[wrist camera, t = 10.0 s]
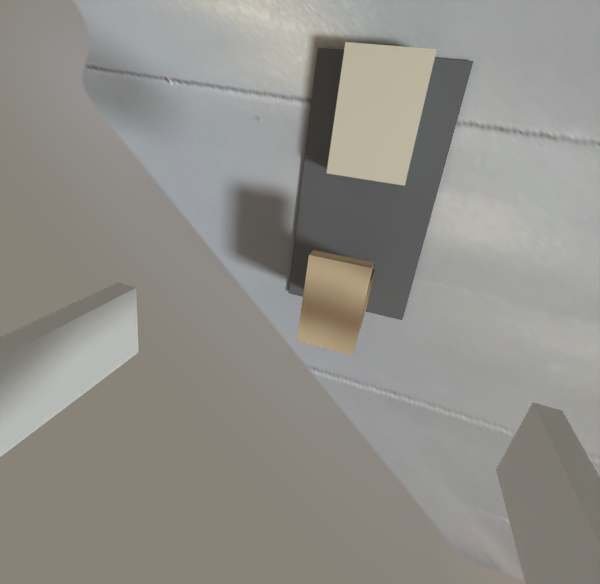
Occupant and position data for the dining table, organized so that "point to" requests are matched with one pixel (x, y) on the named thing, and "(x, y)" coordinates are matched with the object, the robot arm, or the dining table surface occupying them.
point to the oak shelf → (334, 301)
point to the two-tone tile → (379, 111)
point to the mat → (374, 189)
